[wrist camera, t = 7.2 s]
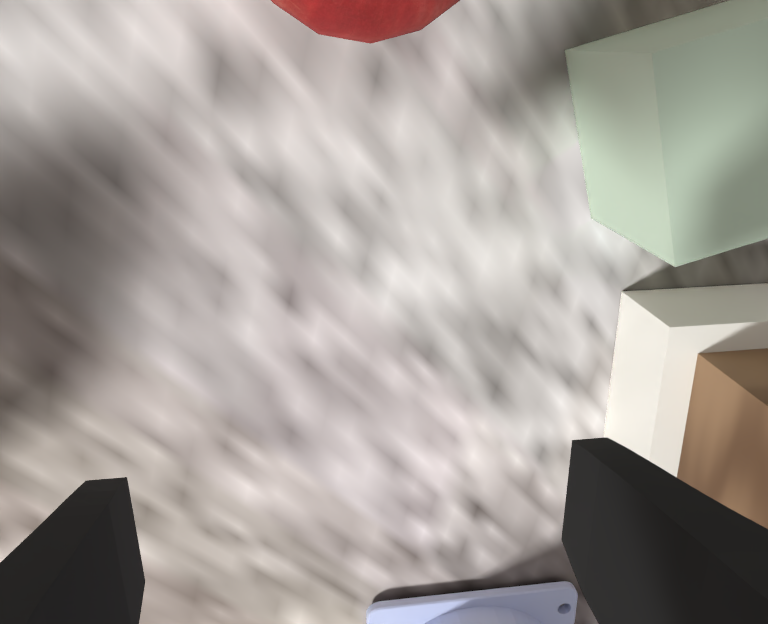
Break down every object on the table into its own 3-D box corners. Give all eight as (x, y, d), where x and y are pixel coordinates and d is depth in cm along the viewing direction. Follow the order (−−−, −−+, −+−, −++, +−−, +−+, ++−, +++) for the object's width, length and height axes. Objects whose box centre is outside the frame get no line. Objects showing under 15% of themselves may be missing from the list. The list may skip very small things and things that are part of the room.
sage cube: (743, 170, 21) (870, 206, 17) (590, 217, 21) (675, 267, 17) (732, -1, 19) (872, -14, 15) (563, 49, 19) (652, 53, 15)
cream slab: (778, 458, 26) (838, 509, 23) (598, 475, 25) (637, 529, 22) (820, 280, 23) (894, 313, 20) (621, 291, 22) (669, 327, 19)
